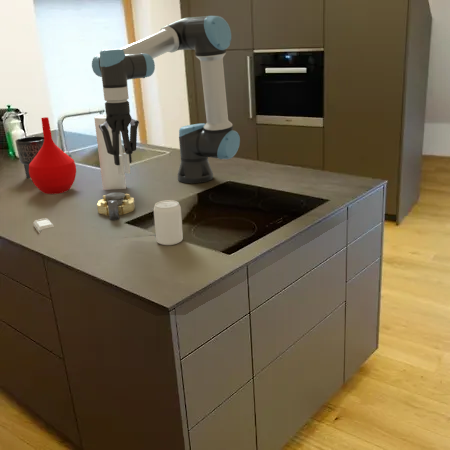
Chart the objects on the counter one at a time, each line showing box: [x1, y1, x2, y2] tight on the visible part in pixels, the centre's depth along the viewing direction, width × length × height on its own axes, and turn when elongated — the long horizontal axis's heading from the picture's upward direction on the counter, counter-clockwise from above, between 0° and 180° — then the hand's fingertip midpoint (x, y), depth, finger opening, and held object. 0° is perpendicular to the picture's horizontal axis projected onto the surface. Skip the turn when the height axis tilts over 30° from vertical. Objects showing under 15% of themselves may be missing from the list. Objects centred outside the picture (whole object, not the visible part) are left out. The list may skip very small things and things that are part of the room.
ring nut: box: [96, 193, 136, 221], centre depth 181 cm, size 17×12×6 cm
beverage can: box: [153, 199, 184, 246], centre depth 156 cm, size 8×8×12 cm
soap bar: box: [33, 217, 55, 235], centre depth 172 cm, size 5×9×3 cm, turn 31°
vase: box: [29, 117, 77, 195], centre depth 208 cm, size 18×18×30 cm
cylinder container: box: [93, 114, 127, 191], centre depth 209 cm, size 9×9×30 cm
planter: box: [15, 135, 44, 179], centre depth 230 cm, size 13×13×18 cm
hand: (124, 173), depth 171 cm, fingers open, 2 cm apart
